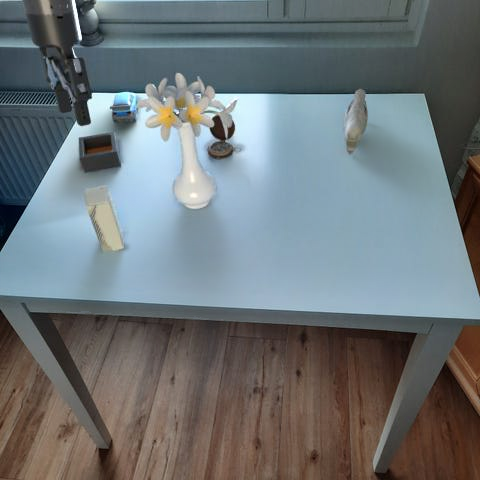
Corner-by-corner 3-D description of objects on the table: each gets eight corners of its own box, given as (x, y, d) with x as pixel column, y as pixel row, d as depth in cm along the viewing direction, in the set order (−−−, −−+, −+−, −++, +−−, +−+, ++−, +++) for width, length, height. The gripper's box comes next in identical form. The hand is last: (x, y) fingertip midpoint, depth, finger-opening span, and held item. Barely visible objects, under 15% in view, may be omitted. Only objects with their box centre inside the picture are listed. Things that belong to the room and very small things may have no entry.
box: (102, 240, 95) (83, 187, 85) (124, 236, 96) (107, 183, 85) (104, 258, 92) (84, 206, 82) (127, 253, 92) (109, 201, 82)
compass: (205, 159, 110) (201, 130, 104) (211, 140, 115) (209, 111, 109) (239, 161, 109) (237, 132, 103) (244, 142, 114) (242, 113, 108)
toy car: (140, 102, 127) (135, 81, 123) (136, 126, 120) (131, 105, 116) (118, 103, 127) (113, 82, 123) (113, 128, 120) (107, 106, 116)
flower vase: (242, 216, 97) (237, 99, 78) (154, 221, 98) (126, 105, 78) (241, 178, 105) (235, 62, 85) (159, 182, 106) (135, 68, 86)
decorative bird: (337, 154, 109) (342, 124, 103) (345, 117, 118) (349, 87, 113) (361, 156, 108) (367, 126, 102) (367, 119, 118) (372, 89, 112)
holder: (84, 173, 109) (79, 157, 106) (83, 152, 114) (78, 137, 111) (121, 166, 110) (116, 151, 107) (118, 146, 115) (114, 131, 112)
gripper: (11, 5, 74) (40, 112, 85) (41, 16, 66) (69, 134, 76) (57, 1, 78) (79, 104, 88) (92, 11, 69) (112, 124, 80)
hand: (75, 118), depth 82 cm, fingers open, 8 cm apart
